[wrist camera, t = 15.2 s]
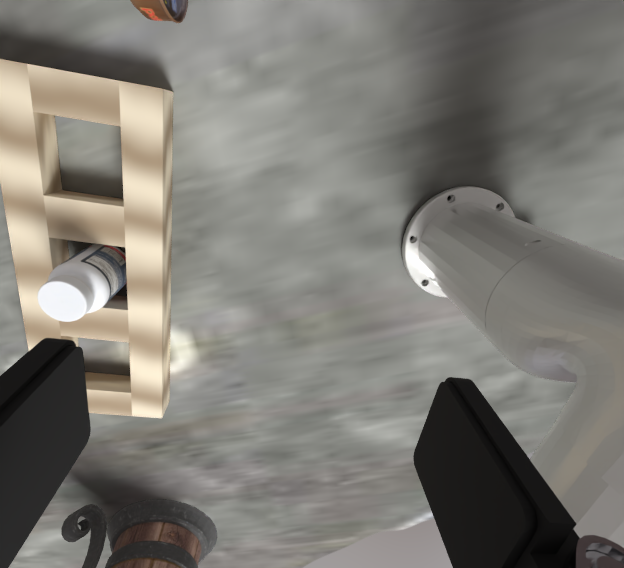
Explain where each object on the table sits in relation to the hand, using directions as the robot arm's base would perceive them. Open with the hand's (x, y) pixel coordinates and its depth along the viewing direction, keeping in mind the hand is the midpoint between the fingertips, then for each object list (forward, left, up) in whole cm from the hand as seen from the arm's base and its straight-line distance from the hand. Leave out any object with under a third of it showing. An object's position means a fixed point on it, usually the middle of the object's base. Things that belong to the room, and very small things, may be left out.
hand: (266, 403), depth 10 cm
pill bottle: (+18, +10, -31) cm, 37 cm away
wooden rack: (+18, +10, -30) cm, 37 cm away
